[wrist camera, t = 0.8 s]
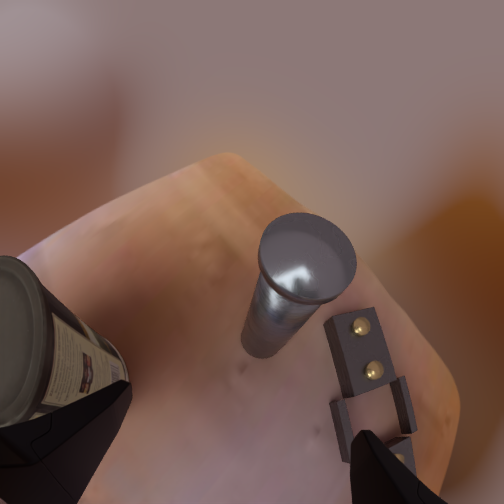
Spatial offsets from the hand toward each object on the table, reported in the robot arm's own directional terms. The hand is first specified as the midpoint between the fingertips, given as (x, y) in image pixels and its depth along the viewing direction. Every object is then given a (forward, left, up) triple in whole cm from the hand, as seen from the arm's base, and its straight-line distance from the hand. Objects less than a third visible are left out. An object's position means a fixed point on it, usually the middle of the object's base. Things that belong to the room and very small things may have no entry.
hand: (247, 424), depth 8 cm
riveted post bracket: (-4, -13, -14) cm, 20 cm away
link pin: (+7, -4, -14) cm, 17 cm away
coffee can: (+4, +14, -15) cm, 21 cm away
